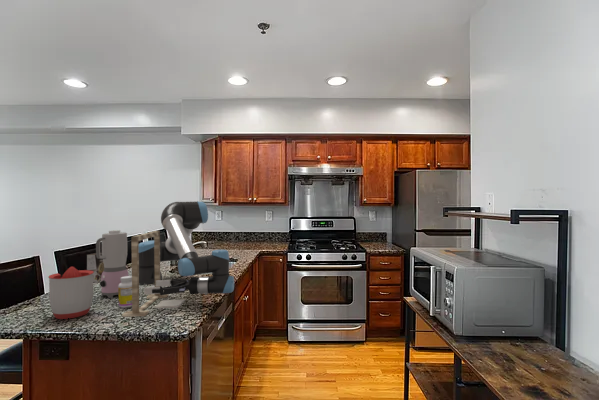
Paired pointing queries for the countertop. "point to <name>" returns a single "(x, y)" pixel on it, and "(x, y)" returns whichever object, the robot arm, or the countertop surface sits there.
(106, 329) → the countertop surface
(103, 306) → the countertop surface
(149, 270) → the robot arm
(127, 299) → the supplement bottle
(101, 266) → the coffee box
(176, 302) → the coaster
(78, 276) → the citrus juicer
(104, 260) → the blender
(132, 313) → the gate frame
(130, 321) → the countertop surface
